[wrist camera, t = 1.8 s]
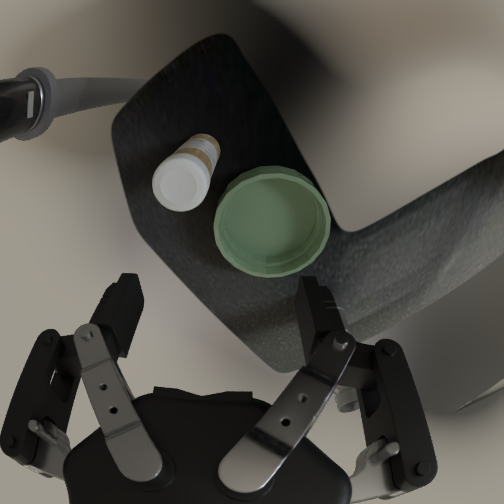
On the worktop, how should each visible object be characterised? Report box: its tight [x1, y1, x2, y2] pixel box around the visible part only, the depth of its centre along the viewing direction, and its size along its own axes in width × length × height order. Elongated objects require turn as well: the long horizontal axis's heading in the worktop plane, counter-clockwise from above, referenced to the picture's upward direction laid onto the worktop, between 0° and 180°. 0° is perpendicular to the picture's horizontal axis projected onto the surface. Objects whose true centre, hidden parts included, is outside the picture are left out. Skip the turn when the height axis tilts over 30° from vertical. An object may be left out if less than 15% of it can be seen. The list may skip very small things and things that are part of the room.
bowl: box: [213, 166, 331, 278], centre depth 35 cm, size 14×14×4 cm
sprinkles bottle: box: [152, 134, 220, 211], centre depth 26 cm, size 5×5×13 cm
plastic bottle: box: [331, 291, 360, 413], centre depth 37 cm, size 6×7×20 cm
